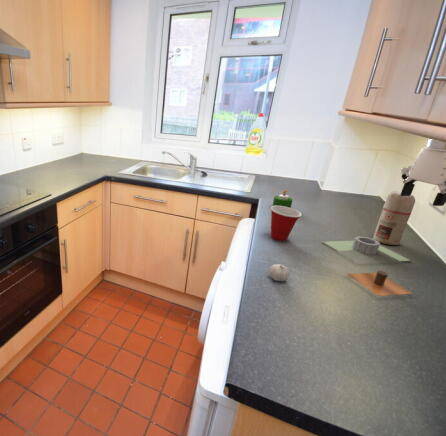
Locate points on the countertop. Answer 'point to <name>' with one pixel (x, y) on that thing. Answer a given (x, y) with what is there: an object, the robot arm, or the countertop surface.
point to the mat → (348, 246)
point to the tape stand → (379, 283)
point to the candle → (282, 200)
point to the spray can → (394, 218)
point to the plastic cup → (282, 221)
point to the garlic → (279, 272)
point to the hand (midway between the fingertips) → (420, 200)
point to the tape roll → (365, 245)
